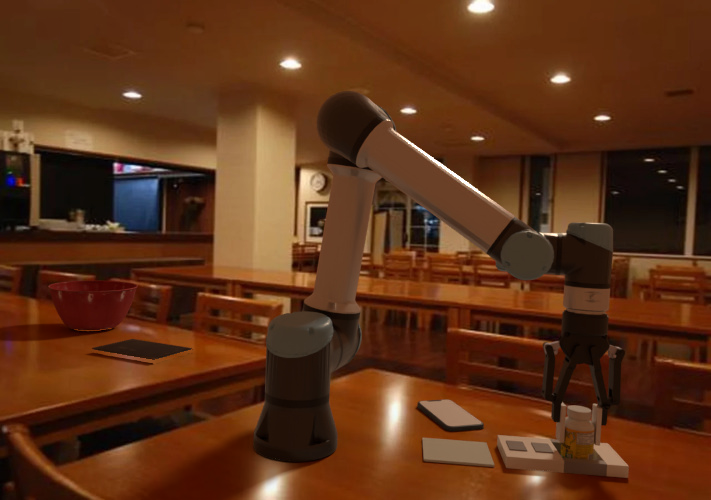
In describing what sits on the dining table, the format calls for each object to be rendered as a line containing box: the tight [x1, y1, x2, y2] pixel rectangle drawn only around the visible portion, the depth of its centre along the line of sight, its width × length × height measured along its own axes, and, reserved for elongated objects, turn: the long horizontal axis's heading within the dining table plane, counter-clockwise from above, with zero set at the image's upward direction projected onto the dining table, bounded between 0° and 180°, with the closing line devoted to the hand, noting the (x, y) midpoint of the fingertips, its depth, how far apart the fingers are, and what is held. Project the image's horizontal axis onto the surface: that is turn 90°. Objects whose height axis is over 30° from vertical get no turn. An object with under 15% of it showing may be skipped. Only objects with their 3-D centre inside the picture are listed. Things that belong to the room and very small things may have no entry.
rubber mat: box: [421, 437, 495, 468], centre depth 102 cm, size 12×10×1 cm
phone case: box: [416, 398, 485, 432], centre depth 121 cm, size 9×2×16 cm
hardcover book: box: [91, 338, 194, 360], centre depth 165 cm, size 16×23×2 cm
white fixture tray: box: [496, 434, 630, 479], centre depth 100 cm, size 20×10×2 cm, turn 85°
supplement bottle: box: [560, 404, 595, 460], centre depth 99 cm, size 5×5×10 cm
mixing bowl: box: [47, 280, 139, 330], centre depth 197 cm, size 28×28×16 cm
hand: (577, 440), depth 99 cm, fingers closed on supplement bottle, 5 cm apart
